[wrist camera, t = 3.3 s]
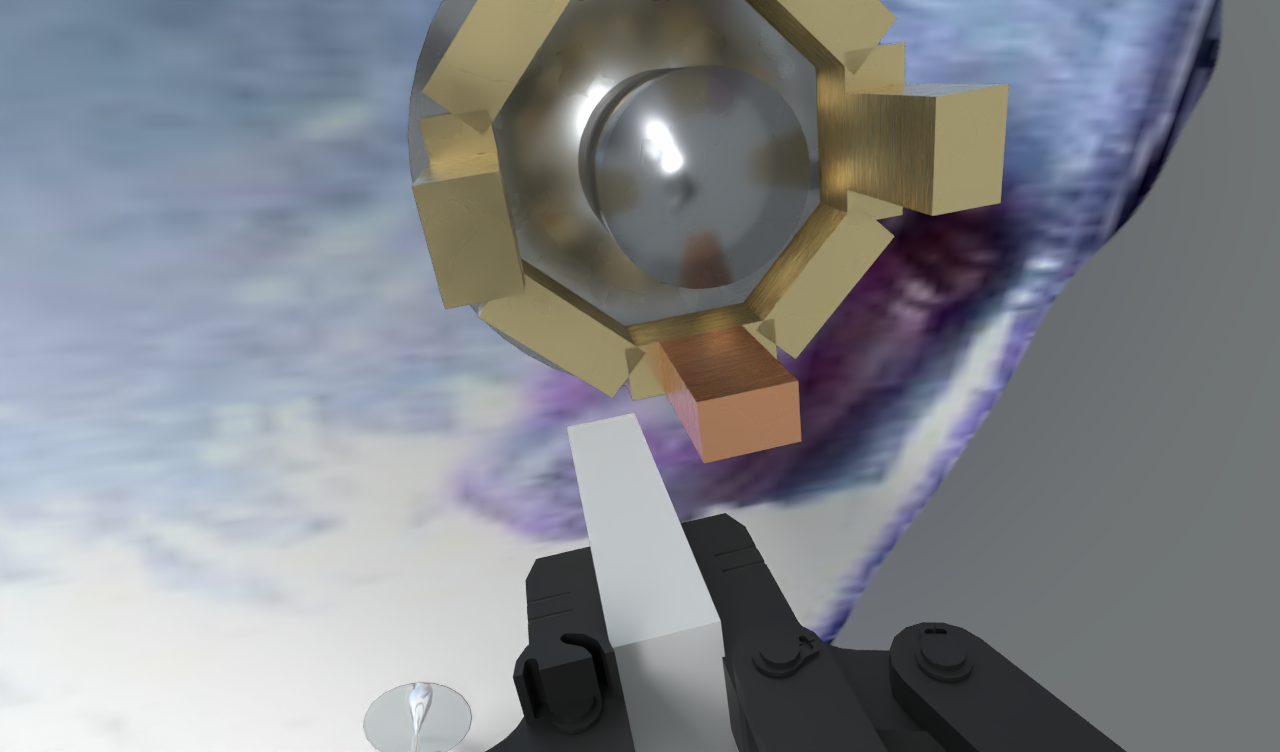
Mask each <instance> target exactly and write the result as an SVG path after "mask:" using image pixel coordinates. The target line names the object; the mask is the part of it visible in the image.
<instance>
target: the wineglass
mask: <svg viewBox="0 0 1280 752" xmlns="http://www.w3.org/2000/svg"><path fill="white" fill-rule="evenodd" d="M470 722H471V713H470V709H469V706H468V704H467V703H466V701H465V700H464V699H463V697H462V696H461V695H459V694H458V693H456V692H455V691H453V690H451V689H450V688H447V687H444V686H441V685H437V684H432V683H414V684H409V685H404V686H399V687H397V688H395V689H393V690H390V691H388V692H386V693H384V694H383V695H382V696H380V697H379V698H378V699H377V700H376V701H374V702H373V703H372V705H371V706H370V708H369V710H368V711H367V713H366V714H365V720H364V731H365V734H366V737H367V739H368V741H369V742H370V743H371V744H372V745H373V746H374V747H375V749H377V750H379V751H381V752H446V751H448V750H450V749H452V748H453V747H454V746H455V745H457V744H458V743H459V742H460V741H462V739H463V738H464V736H465V735H466V733H467V732H468V730H469V727H470Z"/></svg>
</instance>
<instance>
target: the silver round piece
mask: <svg viewBox="0 0 1280 752" xmlns="http://www.w3.org/2000/svg"><path fill="white" fill-rule="evenodd" d="M476 2H477V0H443V1H442V3H441V5H440V7H439V9H438V11H437V13H436V15H435V17H434V19H433V21H432V23H431V25H430V27H429V30H428V33H427V36H426V39H425V42H424V45H423V48H422V51H421V53H420V56H419V59H418V62H417V67H416V73H415V78H414V83H413V88H412V93H411V98H410V112H409V128H408V142H409V156H410V171H411V176H412V181H413V183H414V182H415V181H416V179H417V178H418V177H419V176H420V174H421V173H422V172H423V170H424V169H425V168H426V166H427V165H428V164H429V159H428V155H427V151H426V147H425V143H424V139H423V135H422V131H421V127H420V124H419V120H418V119H420V118H422V117H424V116H428V115H434V114H440V113H446V112H449V111H448V110H447V109H445V108H444V107H442V106H441V105H440V104H438V103H437V102H435V101H434V100H433V99H431V98H430V97H428V96H427V95H426V94H424V93H423V92H422V91H423V89H424V88H425V86H426V84H427V83H428V81H429V79H430V78H431V76H432V74H433V73H434V71H435V70H436V68H437V66H438V65H439V63H440V61H441V60H442V58H443V56H444V55H445V53H446V51H447V50H448V48H449V46H450V45H451V43H452V42H453V40H454V38H455V37H456V35H457V33H458V32H459V30H460V28H461V27H462V25H463V23H464V22H465V20H466V18H467V17H468V15H469V14H470V12H471V10H472V9H473V7H474V5H475V4H476ZM878 44H880V43H878ZM878 44H877V45H878ZM492 124H493V129H494V133H495V138H496V143H497V147H498V152H499V157H500V161H501V166H502V170H503V175H504V180H505V184H506V189H507V194H508V198H509V203H510V208H511V212H512V217H513V222H514V226H515V231H516V236H517V240H518V245H519V250H520V254H521V258H522V259H523V260H525V261H526V262H528V263H530V264H531V265H533V266H534V267H536V268H537V269H539V270H540V271H542V272H543V273H545V274H546V275H548V276H549V277H551V278H552V279H554V280H555V281H557V282H559V283H560V284H562V285H563V286H565V287H566V288H568V289H569V290H571V291H572V292H574V293H575V294H577V295H578V296H580V297H581V298H583V299H584V300H586V301H588V302H589V303H591V304H592V305H594V306H595V307H597V308H598V309H600V310H601V311H603V312H604V313H606V314H607V315H609V316H610V317H612V318H613V319H615V320H617V321H618V322H620V323H621V324H623V325H624V326H629V325H634V324H639V323H644V322H649V321H654V320H659V319H664V318H669V317H674V316H679V315H684V314H689V313H694V312H699V311H704V310H709V309H714V308H719V307H724V306H729V305H734V304H739V303H743V302H744V301H745V299H746V298H747V297H748V296H749V294H750V293H751V292H752V290H753V289H754V288H755V287H756V285H757V284H758V283H759V281H760V280H761V279H762V277H763V276H764V275H765V274H766V272H767V271H768V270H769V268H770V267H771V266H772V264H773V263H774V262H775V261H776V259H777V258H778V257H779V255H780V254H781V253H782V251H783V250H784V249H785V248H786V246H787V245H788V244H789V242H790V241H791V240H792V239H793V237H794V236H795V235H796V233H797V232H798V231H799V229H800V228H801V227H802V226H803V224H804V223H805V222H806V220H807V219H808V218H809V216H810V215H811V214H812V213H813V211H814V210H815V209H816V207H817V206H818V205H819V203H820V186H819V157H818V128H817V98H816V69H815V66H813V65H812V64H811V63H810V62H809V61H808V60H807V59H806V58H805V57H804V56H803V55H802V54H801V53H800V52H799V51H798V50H797V49H796V48H795V47H793V46H792V45H791V44H790V43H789V42H788V41H787V40H786V39H785V38H784V37H783V36H782V35H781V34H780V33H779V32H778V31H777V30H776V29H775V28H773V27H772V26H771V25H770V24H769V23H768V22H767V21H766V20H765V19H764V18H763V17H762V16H761V15H760V14H759V13H758V12H757V11H756V10H755V9H753V8H752V7H751V6H750V5H749V4H748V3H747V2H746V1H745V0H570V1H569V2H568V4H567V6H566V7H565V9H564V10H563V12H562V13H561V15H560V17H559V18H558V20H557V21H556V23H555V24H554V26H553V28H552V29H551V31H550V32H549V34H548V35H547V37H546V39H545V40H544V42H543V43H542V45H541V46H540V48H539V50H538V51H537V53H536V54H535V56H534V57H533V59H532V61H531V62H530V64H529V65H528V67H527V68H526V70H525V71H524V73H523V75H522V76H521V78H520V79H519V81H518V82H517V84H516V86H515V87H514V89H513V90H512V92H511V93H510V95H509V97H508V98H507V100H506V101H505V103H504V104H503V106H502V108H501V109H500V111H499V112H498V114H497V115H496V117H495V119H494V120H493V122H492ZM470 306H471V307H472V308H473V309H474V310H475V312H476V313H477V314H478V312H479V303H475V304H470ZM486 323H487V322H486ZM487 324H488V325H489V326H491V327H492V328H493V329H494V330H495V331H496V332H497V333H498V334H499V335H501V336H502V337H503V338H504V339H505V340H507V341H508V342H510V343H511V344H513V345H514V346H516V347H517V348H519V349H520V350H521V351H523V352H524V353H526V354H527V355H529V356H531V357H533V358H535V359H537V360H539V361H541V362H543V363H544V364H546V365H548V366H550V367H552V368H554V369H557V370H560V371H563V372H565V373H568V374H571V375H573V374H572V373H570V372H568V371H567V370H565V369H564V368H562V367H560V366H559V365H557V364H555V363H554V362H552V361H550V360H549V359H547V358H545V357H544V356H542V355H540V354H539V353H537V352H535V351H534V350H532V349H530V348H529V347H527V346H525V345H524V344H522V343H520V342H519V341H517V340H515V339H514V338H512V337H510V336H509V335H507V334H505V333H504V332H502V331H500V330H499V329H497V328H495V327H494V326H492V325H490V324H489V323H487ZM574 376H575V375H574ZM576 377H577V376H576ZM622 386H626V384H625V382H624V383H623V384H622Z"/></svg>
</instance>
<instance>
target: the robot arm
mask: <svg viewBox="0 0 1280 752" xmlns="http://www.w3.org/2000/svg"><path fill="white" fill-rule="evenodd" d="M567 431H568V436H569V441H570V446H571V451H572V456H573V461H574V466H575V471H576V476H577V481H578V486H579V491H580V496H581V501H582V507H583V512H584V517H585V522H586V527H587V532H588V537H589V542H590V547H586V548H582V549H577V550H573V551H569V552H565V553H560V554H556V555H552V556H547V557H543V558H539V559H536V561H535V563H534V565H533V567H532V569H531V571H530V573H529V575H528V577H527V579H526V596H527V605H528V606H527V614H528V633H529V645H528V646H527V647H526V648H525V649H524V651H523V652H522V654H521V655H520V657H519V658H518V659H517V661H516V665H515V669H514V674H513V679H514V683H515V686H516V689H517V693H518V696H519V700H520V703H521V707H522V710H523V714H524V718H523V719H522V721H521V722H520V724H519V725H518V727H517V728H516V729H515V730H514V731H513V732H512V733H511V734H510V735H509V736H508V737H507V738H505V739H504V740H503V741H501V742H500V743H498V744H497V745H495V746H494V747H493V748H491V749H489V750H487V751H486V752H737V749H736V745H737V747H738V750H739V752H1126V751H1125V750H1124V749H1122V748H1121V747H1120V746H1118V745H1117V744H1116V743H1115V742H1113V741H1112V740H1111V739H1109V738H1108V737H1107V736H1106V735H1104V734H1103V733H1102V732H1100V731H1099V730H1098V729H1096V728H1095V727H1094V726H1093V725H1091V724H1090V723H1089V722H1087V721H1086V720H1085V719H1084V718H1082V717H1081V716H1080V715H1078V714H1077V713H1076V712H1075V711H1073V710H1072V709H1071V708H1069V707H1068V706H1067V705H1066V704H1064V703H1063V702H1062V701H1060V700H1059V699H1058V698H1056V697H1055V696H1054V695H1053V694H1051V693H1050V692H1049V691H1048V690H1046V689H1045V688H1044V687H1042V686H1041V685H1040V684H1038V683H1037V682H1036V681H1035V680H1033V679H1032V678H1031V677H1029V676H1028V675H1027V674H1026V673H1024V672H1023V671H1022V670H1020V669H1019V668H1018V667H1017V666H1015V665H1014V664H1012V663H1011V662H1010V661H1009V660H1008V659H1006V658H1005V657H1004V656H1002V655H1001V654H1000V653H999V652H997V651H996V650H995V649H993V648H992V647H991V646H990V645H988V644H987V643H986V642H984V641H983V640H982V639H980V638H979V637H977V636H975V635H973V634H972V633H970V632H968V631H967V630H965V629H963V628H960V627H956V626H953V625H948V624H945V623H924V622H923V623H920V624H916V625H913V626H910V627H906V628H905V629H904V630H902V631H901V632H900V633H899V634H898V635H896V636H895V637H894V640H893V642H892V645H891V648H890V651H878V650H852V649H842V648H838V647H835V646H832V645H828V644H826V643H824V642H823V641H822V640H821V639H820V638H819V637H818V636H817V635H816V634H815V633H814V632H812V631H810V630H809V629H807V628H805V627H803V626H801V624H800V623H799V622H798V620H797V619H796V617H795V615H794V613H793V612H792V610H791V608H790V606H789V604H788V603H787V601H786V599H785V597H784V595H783V594H782V592H781V590H780V588H779V586H778V585H777V583H776V581H775V579H774V578H773V576H772V574H771V572H770V570H769V569H768V567H767V565H766V564H765V563H764V560H763V558H762V556H761V554H760V552H759V551H758V549H756V546H755V544H754V542H753V540H752V538H751V536H750V535H749V533H748V531H747V529H746V527H745V526H743V525H742V524H740V523H739V522H738V521H736V520H735V519H733V518H732V517H730V516H729V515H727V514H726V513H724V514H720V515H715V516H711V517H707V518H702V519H698V520H694V521H689V522H685V523H681V524H680V522H679V519H678V517H677V514H676V512H675V509H674V507H673V505H672V502H671V500H670V497H669V495H668V493H667V490H666V488H665V485H664V483H663V480H662V478H661V476H660V473H659V471H658V468H657V466H656V464H655V461H654V459H653V456H652V454H651V452H650V449H649V447H648V444H647V442H646V439H645V437H644V435H643V432H642V430H641V427H640V425H639V423H638V420H637V418H636V415H635V413H630V414H625V415H621V416H616V417H611V418H607V419H602V420H597V421H593V422H588V423H583V424H578V425H574V426H569V427H567Z"/></svg>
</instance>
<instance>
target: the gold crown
mask: <svg viewBox="0 0 1280 752" xmlns="http://www.w3.org/2000/svg"><path fill="white" fill-rule="evenodd" d="M569 1H570V0H477V2H476V4H475V5H474V7H473V9H472V10H471V12H470V14H469V15H468V17H467V18H466V20H465V22H464V23H463V25H462V27H461V28H460V30H459V32H458V33H457V35H456V37H455V38H454V40H453V42H452V43H451V45H450V46H449V48H448V50H447V51H446V53H445V55H444V56H443V58H442V60H441V61H440V63H439V65H438V66H437V68H436V70H435V71H434V73H433V74H432V76H431V78H430V79H429V81H428V83H427V84H426V86H425V88H424V89H423V91H422V92H423V93H424V94H426V95H427V96H428V97H430V98H431V99H433V100H434V101H435V102H437V103H438V104H440V105H441V106H442V107H444V108H445V109H447V110H448V111H449V112H446V113H440V114H434V115H428V116H424V117H422V118H420V119H418V120H419V124H420V127H421V131H422V135H423V139H424V143H425V147H426V151H427V155H428V159H429V164H428V165H427V166H426V168H425V169H424V170H423V172H422V173H421V174H420V176H419V177H418V178H417V179H416V181H415V182H414V183H413V185H412V189H413V193H414V197H415V200H416V204H417V208H418V211H419V215H420V219H421V223H422V226H423V230H424V234H425V237H426V241H427V245H428V249H429V252H430V256H431V260H432V264H433V267H434V271H435V275H436V278H437V282H438V286H439V290H440V293H441V297H442V301H443V304H444V308H445V309H449V308H454V307H459V306H465V305H470V304H475V303H479V312H478V317H479V318H480V319H482V320H484V321H485V322H487V323H489V324H490V325H492V326H494V327H495V328H497V329H499V330H500V331H502V332H504V333H505V334H507V335H509V336H510V337H512V338H514V339H515V340H517V341H519V342H520V343H522V344H524V345H525V346H527V347H529V348H530V349H532V350H534V351H535V352H537V353H539V354H540V355H542V356H544V357H545V358H547V359H549V360H550V361H552V362H554V363H555V364H557V365H559V366H560V367H562V368H564V369H565V370H567V371H568V372H570V373H572V374H573V375H575V376H577V377H578V378H580V379H582V380H583V381H585V382H587V383H588V384H590V385H592V386H593V387H595V388H597V389H598V390H600V391H602V392H603V393H605V394H607V395H608V396H610V397H612V398H613V396H614V395H615V394H616V392H617V391H618V390H619V388H620V387H621V386H622V384H623V383H624V382H625V384H626V386H627V389H628V391H629V393H630V395H631V398H632V400H633V401H635V400H640V399H645V398H649V397H654V396H659V395H663V394H666V395H667V397H668V399H669V401H670V403H671V404H672V406H673V408H674V410H675V412H676V413H677V415H678V417H679V419H680V421H681V423H682V424H683V426H684V428H685V430H686V432H687V433H688V435H689V437H690V439H691V441H692V443H693V444H694V446H695V448H696V450H697V452H698V453H699V455H700V457H701V459H702V461H703V462H704V463H708V462H713V461H717V460H722V459H726V458H730V457H735V456H739V455H744V454H748V453H752V452H757V451H761V450H766V449H770V448H774V447H779V446H783V445H788V444H792V443H796V442H801V424H800V405H799V386H798V380H797V379H796V378H795V377H794V376H793V375H792V374H791V373H790V372H789V371H788V370H787V369H786V368H785V367H784V366H783V365H782V364H781V363H780V362H779V361H778V360H777V349H776V345H777V346H778V347H780V348H781V349H782V350H784V351H785V352H787V353H788V354H789V355H791V356H792V357H794V358H795V359H796V358H797V357H798V356H799V354H800V353H801V352H802V351H803V349H804V348H805V347H806V346H807V344H808V343H809V342H810V341H811V339H812V338H813V337H814V336H815V334H816V333H817V332H818V331H819V330H820V328H821V327H822V326H823V325H824V323H825V322H826V321H827V320H828V318H829V317H830V316H831V315H832V313H833V312H834V311H835V310H836V308H837V307H838V306H839V305H840V303H841V302H842V301H843V300H844V299H845V297H846V296H847V295H848V294H849V292H850V291H851V290H852V289H853V287H854V286H855V285H856V284H857V282H858V281H859V280H860V279H861V277H862V276H863V275H864V274H865V272H866V271H867V270H868V269H869V268H870V266H871V265H872V264H873V263H874V261H875V260H876V259H877V258H878V256H879V255H880V254H881V253H882V251H883V250H884V249H885V248H886V246H887V245H888V244H889V243H890V241H891V240H892V239H893V238H894V237H895V236H894V235H893V234H891V233H890V232H889V231H888V230H887V229H886V228H884V227H883V226H882V225H881V224H880V223H879V222H878V221H876V220H878V219H883V218H889V217H894V216H899V215H903V207H905V208H909V209H912V210H915V211H918V212H921V213H925V214H928V215H931V216H934V215H940V214H945V213H950V212H955V211H961V210H966V209H971V208H976V207H981V206H987V205H992V204H997V203H1000V202H1001V188H1002V174H1003V160H1004V146H1005V131H1006V117H1007V103H1008V89H1009V84H914V83H904V72H905V42H900V43H889V44H878V43H879V41H880V40H881V39H882V37H883V36H884V35H885V33H886V32H887V31H888V29H889V28H890V27H891V25H892V24H893V23H894V21H895V20H896V19H897V18H896V17H895V16H894V15H893V14H892V13H891V12H890V11H889V10H888V9H887V8H886V7H885V6H884V5H883V4H882V2H881V1H880V0H745V1H746V2H747V3H748V4H749V5H750V6H751V7H752V8H753V9H755V10H756V11H757V12H758V13H759V14H760V15H761V16H762V17H763V18H764V19H765V20H766V21H767V22H768V23H769V24H770V25H771V26H772V27H773V28H775V29H776V30H777V31H778V32H779V33H780V34H781V35H782V36H783V37H784V38H785V39H786V40H787V41H788V42H789V43H790V44H791V45H792V46H793V47H795V48H796V49H797V50H798V51H799V52H800V53H801V54H802V55H803V56H804V57H805V58H806V59H807V60H808V61H809V62H810V63H811V64H812V65H813V66H815V69H816V98H817V128H818V157H819V186H820V203H819V205H818V206H817V207H816V209H815V210H814V211H813V213H812V214H811V215H810V216H809V218H808V219H807V220H806V222H805V223H804V224H803V226H802V227H801V228H800V229H799V231H798V232H797V233H796V235H795V236H794V237H793V239H792V240H791V241H790V242H789V244H788V245H787V246H786V248H785V249H784V250H783V251H782V253H781V254H780V255H779V257H778V258H777V259H776V261H775V262H774V263H773V264H772V266H771V267H770V268H769V270H768V271H767V272H766V274H765V275H764V276H763V277H762V279H761V280H760V281H759V283H758V284H757V285H756V287H755V288H754V289H753V290H752V292H751V293H750V294H749V296H748V297H747V298H746V299H745V301H744V302H743V303H739V304H734V305H729V306H724V307H719V308H714V309H709V310H704V311H699V312H694V313H689V314H684V315H679V316H674V317H669V318H664V319H659V320H654V321H649V322H644V323H639V324H634V325H629V326H624V325H623V324H621V323H620V322H618V321H617V320H615V319H613V318H612V317H610V316H609V315H607V314H606V313H604V312H603V311H601V310H600V309H598V308H597V307H595V306H594V305H592V304H591V303H589V302H588V301H586V300H584V299H583V298H581V297H580V296H578V295H577V294H575V293H574V292H572V291H571V290H569V289H568V288H566V287H565V286H563V285H562V284H560V283H559V282H557V281H555V280H554V279H552V278H551V277H549V276H548V275H546V274H545V273H543V272H542V271H540V270H539V269H537V268H536V267H534V266H533V265H531V264H530V263H528V262H526V261H525V260H523V259H522V258H521V254H520V250H519V245H518V240H517V236H516V231H515V226H514V222H513V217H512V212H511V208H510V203H509V198H508V194H507V189H506V184H505V180H504V175H503V170H502V166H501V161H500V157H499V152H498V147H497V143H496V138H495V133H494V129H493V124H492V122H493V120H494V119H495V117H496V115H497V114H498V112H499V111H500V109H501V108H502V106H503V104H504V103H505V101H506V100H507V98H508V97H509V95H510V93H511V92H512V90H513V89H514V87H515V86H516V84H517V82H518V81H519V79H520V78H521V76H522V75H523V73H524V71H525V70H526V68H527V67H528V65H529V64H530V62H531V61H532V59H533V57H534V56H535V54H536V53H537V51H538V50H539V48H540V46H541V45H542V43H543V42H544V40H545V39H546V37H547V35H548V34H549V32H550V31H551V29H552V28H553V26H554V24H555V23H556V21H557V20H558V18H559V17H560V15H561V13H562V12H563V10H564V9H565V7H566V6H567V4H568V2H569ZM877 44H878V45H877Z"/></svg>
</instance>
